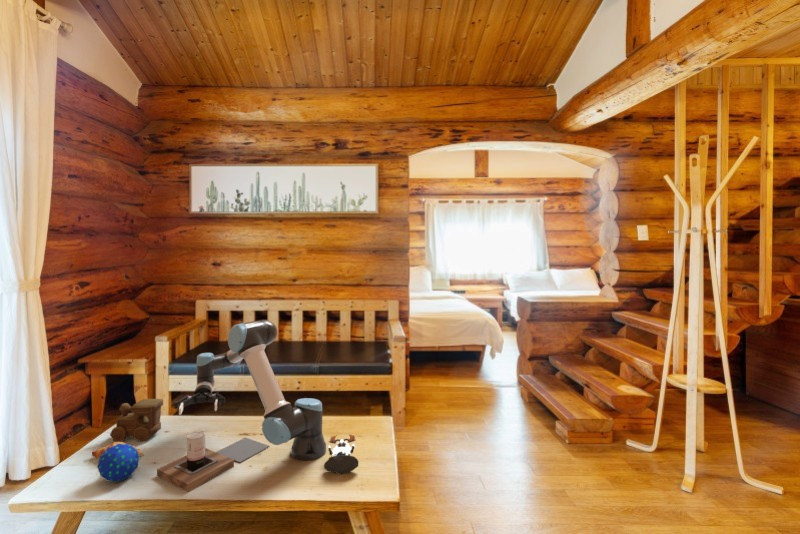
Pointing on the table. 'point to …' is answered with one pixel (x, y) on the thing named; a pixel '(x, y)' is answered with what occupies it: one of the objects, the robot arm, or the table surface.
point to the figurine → (341, 456)
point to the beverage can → (195, 451)
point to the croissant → (102, 450)
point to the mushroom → (118, 462)
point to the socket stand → (190, 480)
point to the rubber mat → (242, 449)
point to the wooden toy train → (138, 420)
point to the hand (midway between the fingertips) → (198, 409)
